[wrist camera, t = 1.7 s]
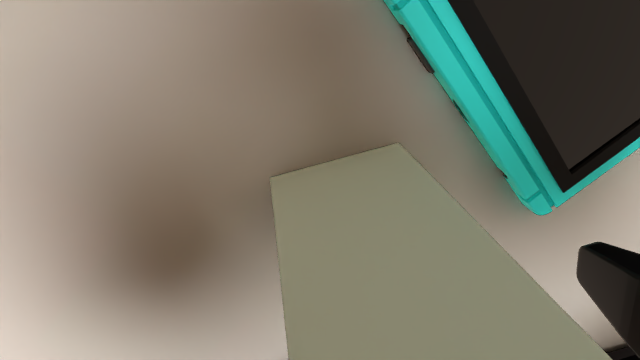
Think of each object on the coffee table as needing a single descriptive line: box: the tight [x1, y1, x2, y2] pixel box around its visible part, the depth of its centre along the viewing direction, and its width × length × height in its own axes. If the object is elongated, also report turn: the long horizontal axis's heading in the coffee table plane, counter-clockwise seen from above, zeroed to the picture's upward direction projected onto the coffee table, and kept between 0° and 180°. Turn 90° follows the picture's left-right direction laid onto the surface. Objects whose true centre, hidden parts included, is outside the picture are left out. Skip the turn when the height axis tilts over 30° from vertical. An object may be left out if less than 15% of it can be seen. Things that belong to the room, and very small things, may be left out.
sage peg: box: [270, 143, 612, 360], centre depth 9 cm, size 4×4×9 cm
